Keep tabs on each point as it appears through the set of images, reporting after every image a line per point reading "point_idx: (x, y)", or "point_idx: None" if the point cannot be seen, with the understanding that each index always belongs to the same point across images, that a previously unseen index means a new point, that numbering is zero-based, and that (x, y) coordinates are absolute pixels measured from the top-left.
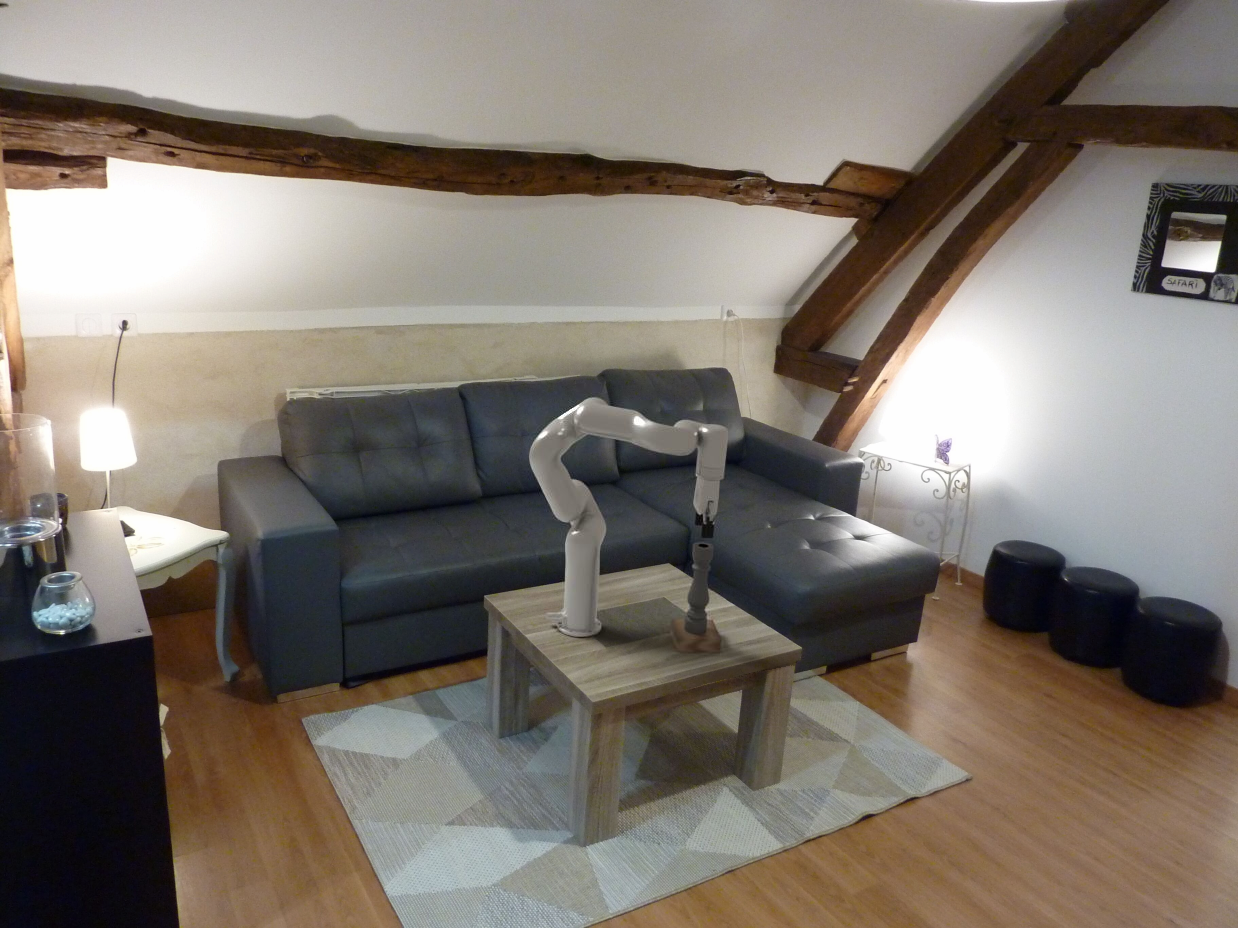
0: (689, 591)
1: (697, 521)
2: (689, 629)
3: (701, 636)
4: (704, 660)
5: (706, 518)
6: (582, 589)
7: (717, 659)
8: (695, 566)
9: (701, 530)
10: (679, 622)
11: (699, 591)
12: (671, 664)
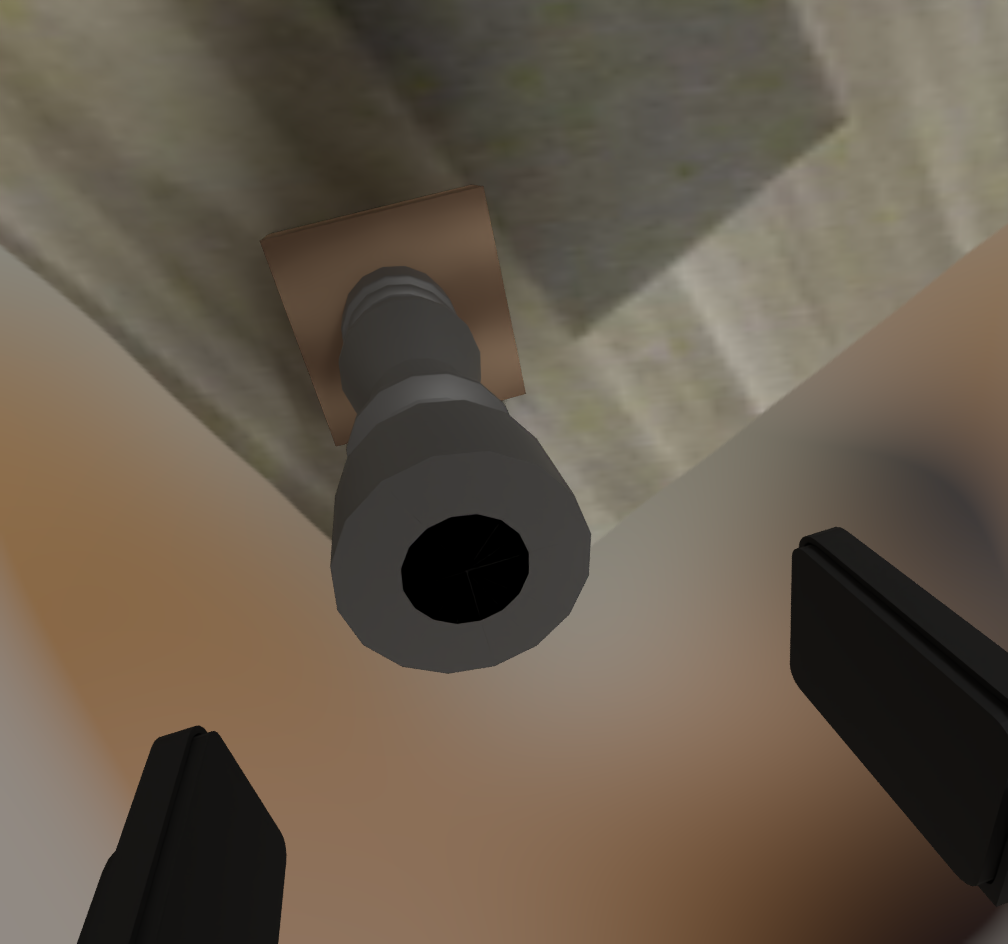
0: (396, 318)
1: (837, 607)
2: (347, 298)
3: (330, 357)
4: (232, 368)
5: (874, 774)
6: None
7: (265, 419)
8: (382, 415)
9: (162, 840)
10: (456, 233)
11: (355, 398)
12: (116, 217)
